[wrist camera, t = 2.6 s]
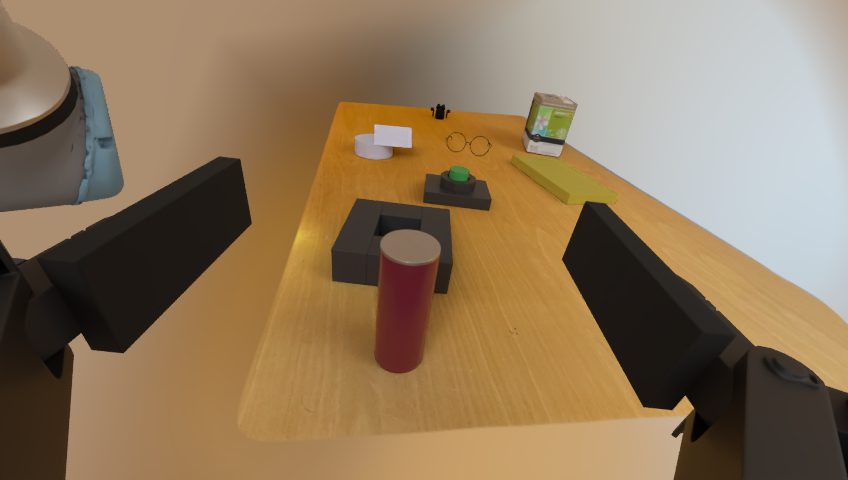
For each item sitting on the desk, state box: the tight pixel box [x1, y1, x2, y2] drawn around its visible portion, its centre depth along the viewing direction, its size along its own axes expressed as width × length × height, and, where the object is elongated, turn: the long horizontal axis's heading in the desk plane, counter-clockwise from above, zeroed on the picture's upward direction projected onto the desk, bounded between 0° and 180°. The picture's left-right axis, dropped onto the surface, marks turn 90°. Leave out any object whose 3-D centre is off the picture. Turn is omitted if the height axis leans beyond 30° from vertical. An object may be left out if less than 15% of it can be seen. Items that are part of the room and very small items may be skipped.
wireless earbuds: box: [431, 104, 450, 119], centre depth 121 cm, size 7×2×5 cm, turn 87°
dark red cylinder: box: [374, 229, 441, 373], centre depth 29 cm, size 5×5×12 cm
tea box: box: [522, 93, 577, 157], centre depth 99 cm, size 15×10×15 cm, turn 170°
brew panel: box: [423, 171, 491, 210], centre depth 63 cm, size 12×9×4 cm
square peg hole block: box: [331, 198, 453, 294], centre depth 44 cm, size 14×14×4 cm
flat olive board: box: [511, 155, 619, 204], centre depth 78 cm, size 12×2×24 cm
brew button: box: [449, 166, 470, 181], centre depth 62 cm, size 4×4×2 cm
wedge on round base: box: [355, 125, 412, 160], centre depth 79 cm, size 9×7×13 cm
